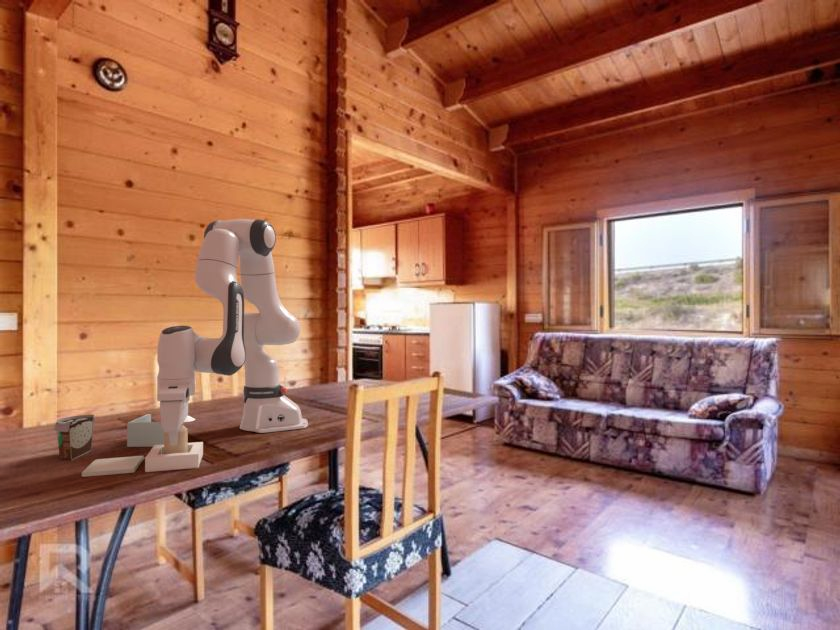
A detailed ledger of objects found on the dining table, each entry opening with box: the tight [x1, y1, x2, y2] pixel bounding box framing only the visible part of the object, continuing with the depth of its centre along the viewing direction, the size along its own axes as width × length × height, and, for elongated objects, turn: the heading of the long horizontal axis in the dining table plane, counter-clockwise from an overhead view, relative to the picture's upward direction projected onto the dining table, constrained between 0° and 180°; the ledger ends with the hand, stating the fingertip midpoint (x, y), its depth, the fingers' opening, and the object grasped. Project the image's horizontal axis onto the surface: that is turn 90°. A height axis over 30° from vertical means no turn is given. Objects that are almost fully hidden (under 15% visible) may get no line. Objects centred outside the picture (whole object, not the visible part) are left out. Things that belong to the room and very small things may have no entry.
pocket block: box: [144, 441, 204, 473], centre depth 129 cm, size 12×12×4 cm
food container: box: [53, 414, 96, 462], centre depth 134 cm, size 12×6×10 cm, turn 5°
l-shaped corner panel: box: [126, 413, 164, 448], centre depth 150 cm, size 12×12×8 cm
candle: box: [164, 424, 189, 454], centre depth 129 cm, size 6×6×10 cm
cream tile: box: [81, 455, 144, 478], centre depth 125 cm, size 11×11×1 cm
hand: (175, 441), depth 129 cm, fingers closed on candle, 5 cm apart
